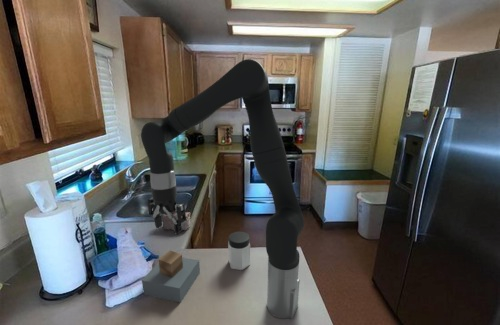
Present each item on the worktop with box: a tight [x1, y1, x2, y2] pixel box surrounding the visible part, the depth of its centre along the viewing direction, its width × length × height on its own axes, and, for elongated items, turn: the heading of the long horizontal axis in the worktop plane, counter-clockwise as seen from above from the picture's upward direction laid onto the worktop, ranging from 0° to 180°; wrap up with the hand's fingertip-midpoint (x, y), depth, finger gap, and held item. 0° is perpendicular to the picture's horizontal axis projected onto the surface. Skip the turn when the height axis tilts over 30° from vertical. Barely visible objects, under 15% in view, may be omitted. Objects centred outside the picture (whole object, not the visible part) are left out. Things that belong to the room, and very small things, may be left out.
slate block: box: [141, 256, 201, 304], centre depth 84 cm, size 14×14×6 cm
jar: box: [227, 231, 251, 271], centre depth 93 cm, size 9×8×12 cm
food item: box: [161, 211, 191, 232], centre depth 119 cm, size 14×8×10 cm, turn 85°
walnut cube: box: [158, 250, 183, 278], centre depth 82 cm, size 6×6×6 cm
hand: (168, 229), depth 79 cm, fingers open, 8 cm apart
